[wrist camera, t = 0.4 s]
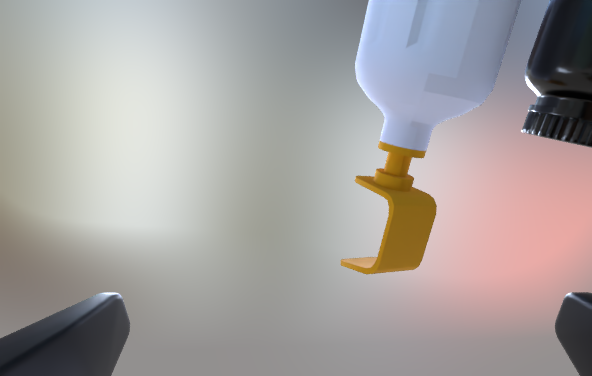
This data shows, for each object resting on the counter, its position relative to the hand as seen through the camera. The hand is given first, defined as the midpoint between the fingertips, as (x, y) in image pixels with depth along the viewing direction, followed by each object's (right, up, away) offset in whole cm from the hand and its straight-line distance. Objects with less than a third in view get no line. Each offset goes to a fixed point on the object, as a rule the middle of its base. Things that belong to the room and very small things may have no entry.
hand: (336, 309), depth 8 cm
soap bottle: (+9, +19, +15) cm, 26 cm away
